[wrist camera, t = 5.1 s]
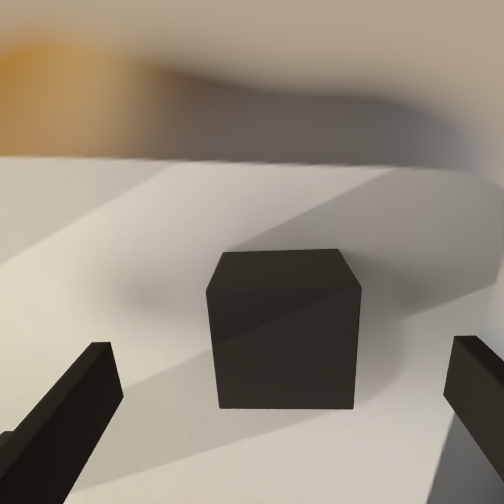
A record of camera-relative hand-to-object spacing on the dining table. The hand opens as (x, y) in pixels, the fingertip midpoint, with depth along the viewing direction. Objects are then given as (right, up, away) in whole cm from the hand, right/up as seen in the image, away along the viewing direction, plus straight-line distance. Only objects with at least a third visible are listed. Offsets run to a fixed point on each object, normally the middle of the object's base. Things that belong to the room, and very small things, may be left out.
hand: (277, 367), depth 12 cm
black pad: (+1, +2, +5) cm, 5 cm away
